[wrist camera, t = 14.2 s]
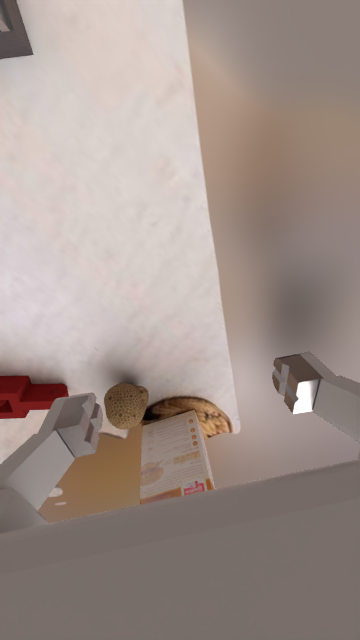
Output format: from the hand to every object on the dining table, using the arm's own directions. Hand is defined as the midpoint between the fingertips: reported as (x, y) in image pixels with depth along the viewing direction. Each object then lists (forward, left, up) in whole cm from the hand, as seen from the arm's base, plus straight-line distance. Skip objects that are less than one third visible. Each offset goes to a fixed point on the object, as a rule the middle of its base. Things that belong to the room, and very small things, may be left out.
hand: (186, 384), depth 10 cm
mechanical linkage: (-33, -24, -32) cm, 52 cm away
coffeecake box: (-5, -46, -31) cm, 56 cm away
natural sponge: (-13, -29, -31) cm, 45 cm away
